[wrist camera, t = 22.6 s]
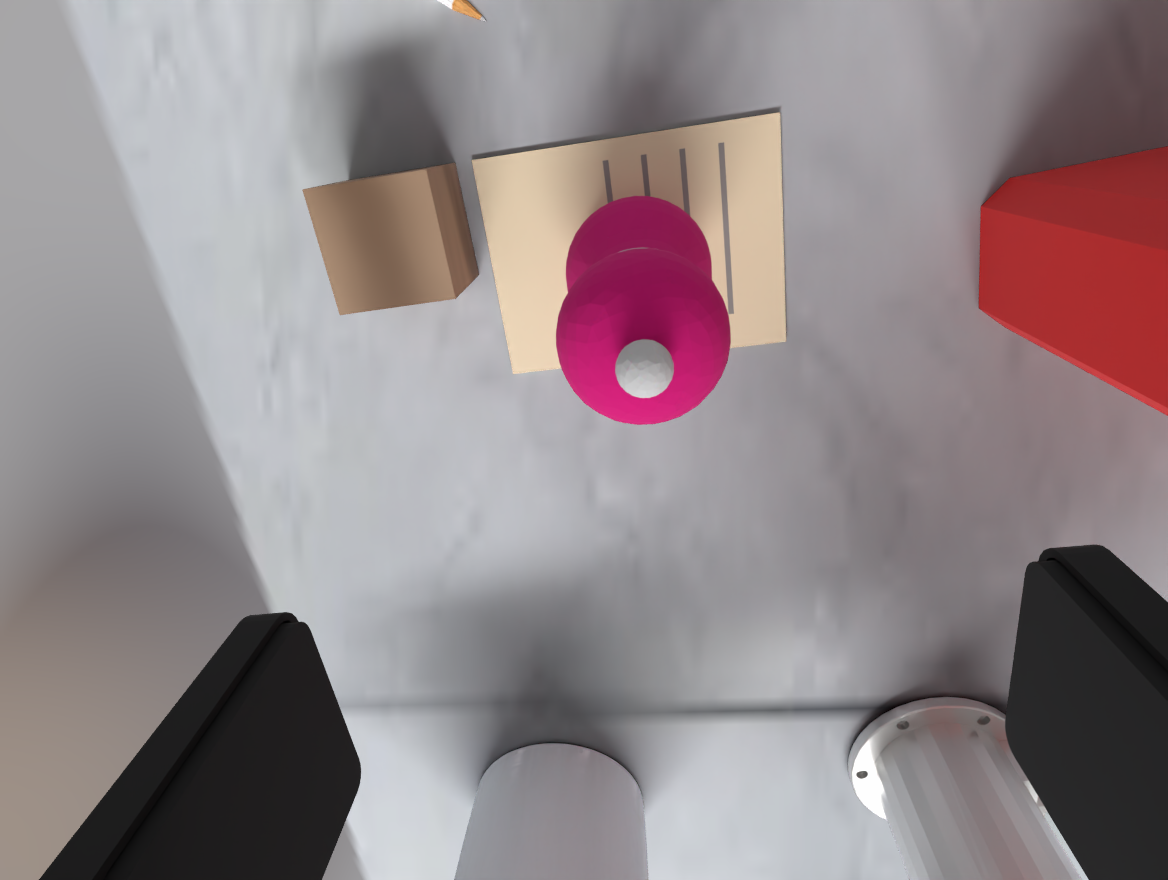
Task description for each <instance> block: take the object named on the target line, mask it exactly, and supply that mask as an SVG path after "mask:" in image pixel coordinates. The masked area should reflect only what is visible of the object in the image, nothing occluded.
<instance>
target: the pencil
mask: <svg viewBox="0 0 1168 880" xmlns="http://www.w3.org/2000/svg"><path fill="white" fill-rule="evenodd" d="M438 1H440V2H441V3H443V4H444V5H446V6H447V7H449V8H450V9H452V10H454V11H457V12H460V13H463V14H465V15H468V16H471V17H473V18H476V19H479V20H482V21H486V20H485V18H484V17H483V16H482V15H481V14H480V13H479V12H478V11H477V10H476V9H475V8H474V7H473V6H472V5H471V4H470V3H469V2H468V1H467V0H438ZM486 22H487V21H486Z"/></svg>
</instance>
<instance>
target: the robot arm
mask: <svg viewBox="0 0 1168 880" xmlns="http://www.w3.org/2000/svg"><path fill="white" fill-rule="evenodd" d="M848 772H849V777H850V781H851V783H852V786H853V789H854V791H855V794H856V795H857V797H858V798H859V800H860V801H861V803H862V804H864V805H865V806H866V807H867V808H868V809H869V810H870V811H871V812H873V813H875V814H876V815H878V816H880V817H881V818H883V819H886V820H887V821H888V824H889V826H890V829H891V832H892V835H893V837H894V840H895V843H896V845H897V848H898V851H899V853H900V856H901V859H902V861H903V864H904V867H905V870H906V872H907V875H908V878H909V880H1082V879H1081V877H1080V875H1079V874H1078V872H1077V870H1076V869H1075V867H1074V865H1073V864H1072V862H1071V860H1070V859H1069V857H1068V855H1067V854H1066V852H1065V850H1064V849H1063V847H1062V845H1061V844H1060V842H1059V840H1058V839H1057V837H1056V835H1055V834H1054V832H1053V830H1052V829H1051V827H1050V825H1049V824H1048V822H1047V820H1046V819H1045V813H1046V812H1048V813H1049V815H1050V817H1051V818H1052V820H1053V821H1054V823H1055V825H1056V826H1057V828H1058V830H1059V831H1060V833H1061V835H1062V836H1063V838H1064V840H1065V841H1066V843H1067V844H1068V846H1069V848H1070V849H1071V851H1072V853H1073V854H1074V856H1075V858H1076V859H1077V861H1078V863H1079V864H1080V866H1081V868H1082V869H1083V871H1084V872H1085V874H1086V876H1087V877H1088V879H1089V880H1168V602H1167V601H1166V600H1165V599H1164V598H1162V597H1161V596H1160V595H1159V594H1158V593H1157V592H1156V591H1155V590H1153V589H1152V588H1151V587H1150V586H1149V585H1148V584H1147V583H1146V582H1144V581H1143V580H1142V579H1141V578H1140V577H1139V576H1138V575H1137V574H1135V573H1134V572H1133V571H1132V570H1131V569H1130V568H1129V567H1128V566H1126V565H1125V564H1124V563H1123V562H1122V561H1121V560H1120V559H1119V558H1117V557H1116V556H1115V555H1114V554H1113V553H1112V552H1111V551H1110V550H1108V549H1107V548H1105V547H1103V546H1101V545H1084V546H1072V547H1060V548H1049V549H1046V550H1044V551H1043V552H1042V554H1041V555H1040V558H1039V561H1038V562H1032V563H1029V565H1028V566H1027V568H1026V572H1025V578H1024V586H1023V593H1022V601H1021V608H1020V615H1019V623H1018V630H1017V637H1016V645H1015V652H1014V660H1013V667H1012V674H1011V682H1010V689H1009V697H1008V704H1007V711H1006V715H1005V714H1003V713H1002V712H1000V711H999V710H997V709H996V708H994V707H992V706H989V705H987V704H985V703H982V702H979V701H975V700H970V699H966V698H955V697H938V698H928V699H923V700H918V701H913V702H910V703H907V704H904V705H901V706H898V707H896V708H894V709H892V710H890V711H888V712H886V713H884V714H882V715H881V716H880V717H878V718H877V719H876V720H874V721H873V722H871V723H870V724H869V725H868V726H867V727H866V728H865V729H864V730H863V731H862V732H861V733H860V735H859V736H858V738H857V739H856V741H855V742H854V744H853V746H852V749H851V751H850V754H849V758H848ZM360 779H361V765H360V761H359V758H358V755H357V752H356V750H355V747H354V744H353V742H352V739H351V736H350V734H349V731H348V728H347V726H346V723H345V721H344V718H343V715H342V713H341V710H340V707H339V705H338V702H337V699H336V697H335V694H334V691H333V689H332V686H331V683H330V681H329V678H328V676H327V673H326V670H325V668H324V665H323V662H322V660H321V657H320V654H319V652H318V649H317V646H316V644H315V641H314V638H313V636H312V633H311V631H310V629H309V627H308V625H307V624H306V623H304V622H298V620H297V618H296V617H295V616H294V615H293V614H292V613H287V612H284V613H272V614H262V615H250V616H247V617H245V618H243V619H242V620H241V621H240V622H239V623H238V625H237V626H236V627H235V629H234V630H233V631H232V632H231V634H230V635H229V636H228V638H227V639H226V640H225V641H224V643H223V644H222V645H221V647H220V648H219V649H218V650H217V652H216V653H215V654H214V656H213V657H212V658H211V660H210V661H209V662H208V663H207V665H206V666H205V667H204V669H203V670H202V671H201V672H200V674H199V675H198V676H197V677H196V679H195V680H194V681H193V683H192V684H191V685H190V686H189V688H188V689H187V690H186V692H185V693H184V694H183V695H182V697H181V698H180V699H179V701H178V702H177V703H176V704H175V706H174V707H173V708H172V710H171V711H170V712H169V714H168V715H167V716H166V717H165V719H164V720H163V721H162V722H161V724H160V725H159V726H158V728H157V729H156V730H155V731H154V733H153V734H152V735H151V737H150V738H149V739H148V740H147V742H146V743H145V744H144V746H143V747H142V748H141V749H140V751H139V752H138V753H137V755H136V756H135V757H134V759H133V760H132V761H131V762H130V764H129V765H128V766H127V768H126V769H125V770H124V771H123V773H122V774H121V775H120V777H119V778H118V779H117V780H116V782H115V783H114V784H113V785H112V787H111V788H110V790H108V792H107V793H106V795H105V796H104V797H103V798H102V800H101V801H100V802H99V803H98V805H97V806H96V807H95V809H94V810H93V811H92V812H91V814H90V815H89V816H88V818H87V819H86V820H85V821H84V823H83V824H82V825H81V826H80V828H79V829H78V830H77V832H76V833H75V834H74V835H73V837H72V838H71V839H70V841H69V842H68V843H67V844H66V846H65V847H64V848H63V850H62V851H61V852H60V853H59V855H58V856H57V857H56V859H55V860H54V861H53V862H52V864H51V865H50V866H49V868H48V869H47V870H46V872H45V873H44V874H43V875H42V877H41V878H40V879H39V880H322V878H323V875H324V873H325V870H326V868H327V865H328V863H329V860H330V858H331V855H332V853H333V851H334V848H335V846H336V843H337V841H338V838H339V836H340V833H341V831H342V828H343V826H344V823H345V821H346V818H347V816H348V814H349V811H350V809H351V806H352V804H353V801H354V799H355V796H356V794H357V791H358V788H359V785H360Z"/></svg>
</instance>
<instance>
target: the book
mask: <svg viewBox="0 0 1168 880" xmlns="http://www.w3.org/2000/svg"><path fill="white" fill-rule="evenodd" d="M979 309H981V310H982V311H983V312H985V313H986V314H988V315H989V316H990V317H992V318H993V319H994V320H996V321H997V322H998V323H1000V324H1001V325H1002V326H1004V327H1005V328H1007V329H1009V330H1011V331H1013V332H1015V333H1016V334H1018V335H1020V336H1022V337H1024V338H1026V339H1028V340H1029V341H1031V342H1033V343H1035V344H1037V345H1039V346H1040V347H1042V348H1044V349H1046V350H1048V351H1050V352H1051V353H1053V354H1055V355H1057V356H1059V357H1061V358H1062V359H1064V360H1066V361H1068V362H1070V363H1072V364H1074V365H1075V366H1077V367H1079V368H1081V369H1083V370H1085V371H1086V372H1088V373H1090V374H1092V375H1094V376H1096V377H1097V378H1099V379H1101V380H1103V381H1105V382H1107V383H1109V384H1110V385H1112V386H1114V387H1116V388H1118V389H1120V390H1121V391H1123V392H1125V393H1127V394H1129V395H1131V396H1132V397H1134V398H1136V399H1138V400H1140V401H1142V402H1143V403H1145V404H1147V405H1149V406H1151V407H1153V408H1155V409H1156V410H1158V411H1160V412H1162V413H1164V414H1166V415H1167V416H1168V146H1166V147H1161V148H1156V149H1151V150H1146V151H1141V152H1136V153H1131V154H1126V155H1121V156H1116V157H1112V158H1107V159H1102V160H1097V161H1092V162H1087V163H1082V164H1077V165H1072V166H1067V167H1062V168H1057V169H1052V170H1047V171H1042V172H1037V173H1032V174H1027V175H1022V176H1017V177H1012V178H1009V179H1008V180H1007V181H1006V182H1005V183H1004V184H1003V185H1002V186H1001V187H1000V188H999V189H998V190H997V191H996V192H995V193H994V194H993V195H992V196H991V197H990V198H989V199H988V200H987V201H986V202H985V203H984V204H983V205H982V206H981V223H980V272H979Z"/></svg>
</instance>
